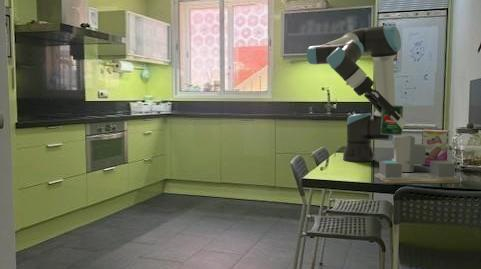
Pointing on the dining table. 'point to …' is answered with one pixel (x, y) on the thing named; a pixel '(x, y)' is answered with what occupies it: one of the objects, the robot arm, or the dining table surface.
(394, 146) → the circuit breaker
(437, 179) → the board
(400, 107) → the canned tomato
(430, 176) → the tan flat panel
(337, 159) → the dining table surface
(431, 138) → the candy bar box
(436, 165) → the module
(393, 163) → the block
